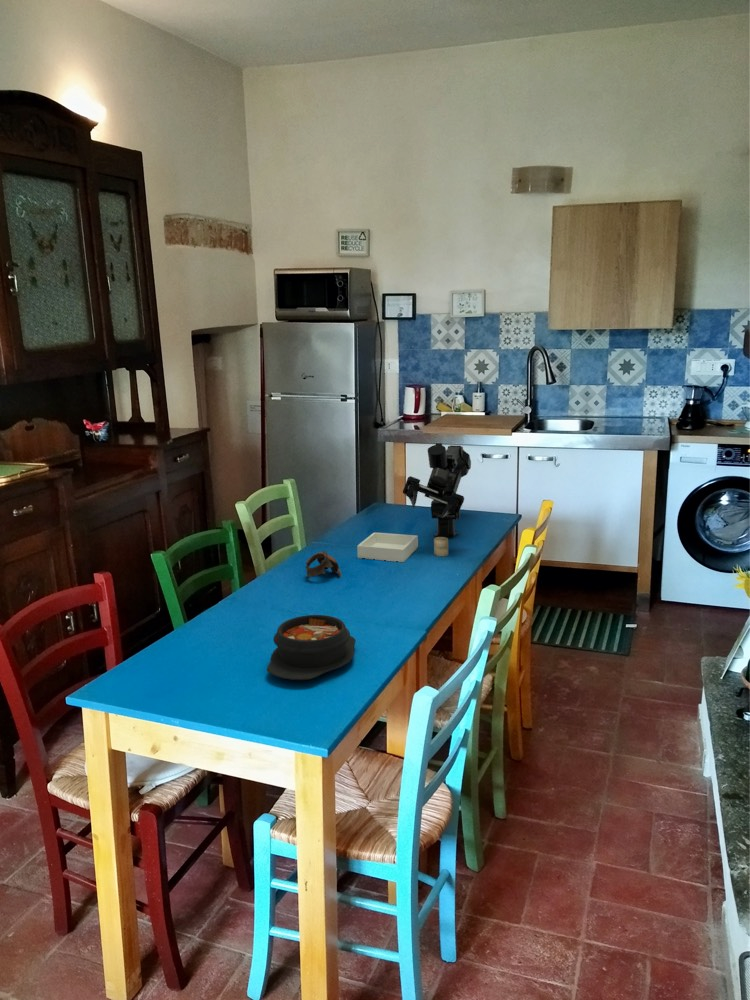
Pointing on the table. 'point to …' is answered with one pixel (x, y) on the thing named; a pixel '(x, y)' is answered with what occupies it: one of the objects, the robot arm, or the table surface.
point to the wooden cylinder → (441, 546)
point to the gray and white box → (387, 547)
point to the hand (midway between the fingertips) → (427, 511)
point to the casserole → (310, 647)
